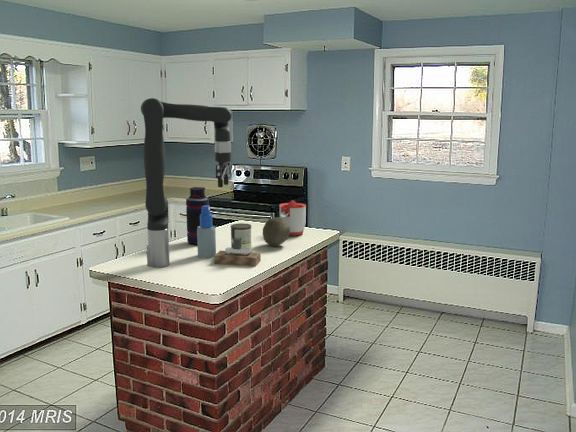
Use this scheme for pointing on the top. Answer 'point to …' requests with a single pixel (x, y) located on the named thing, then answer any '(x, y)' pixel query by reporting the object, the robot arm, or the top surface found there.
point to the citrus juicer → (294, 216)
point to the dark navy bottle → (195, 211)
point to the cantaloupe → (276, 231)
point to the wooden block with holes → (237, 258)
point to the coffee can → (241, 234)
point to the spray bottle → (206, 234)
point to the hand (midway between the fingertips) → (223, 185)
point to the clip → (237, 248)
